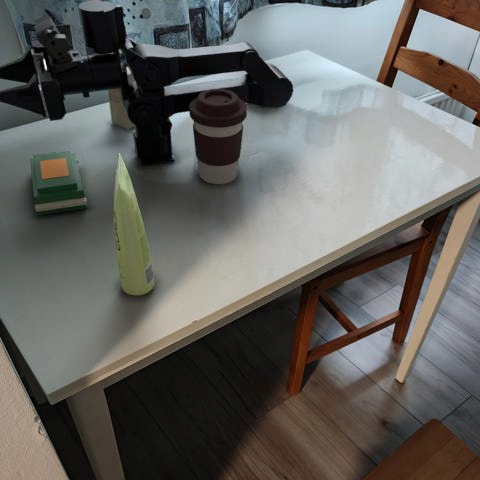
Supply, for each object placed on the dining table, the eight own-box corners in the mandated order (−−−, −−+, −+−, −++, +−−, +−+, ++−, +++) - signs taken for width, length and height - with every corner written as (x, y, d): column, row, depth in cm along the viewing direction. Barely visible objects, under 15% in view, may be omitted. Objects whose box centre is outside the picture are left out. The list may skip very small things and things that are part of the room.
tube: (111, 284, 78) (87, 166, 64) (136, 267, 81) (119, 151, 66) (137, 302, 76) (118, 184, 61) (162, 284, 78) (150, 167, 64)
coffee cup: (184, 166, 101) (180, 88, 90) (231, 157, 104) (233, 81, 93) (202, 193, 95) (200, 113, 84) (252, 183, 98) (256, 104, 87)
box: (111, 123, 112) (103, 70, 104) (124, 115, 115) (117, 63, 107) (130, 130, 110) (124, 76, 102) (143, 122, 113) (137, 69, 105)
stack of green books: (79, 167, 100) (74, 144, 96) (88, 211, 90) (83, 187, 87) (33, 173, 98) (26, 150, 94) (38, 219, 88) (31, 195, 85)
